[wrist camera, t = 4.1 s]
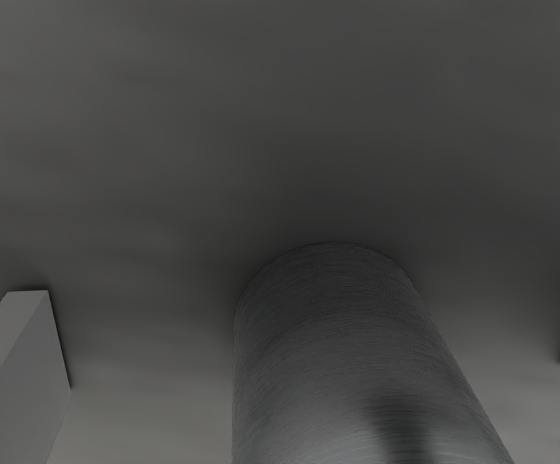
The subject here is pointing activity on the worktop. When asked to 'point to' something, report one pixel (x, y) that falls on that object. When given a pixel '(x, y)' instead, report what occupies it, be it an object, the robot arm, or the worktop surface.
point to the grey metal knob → (348, 368)
